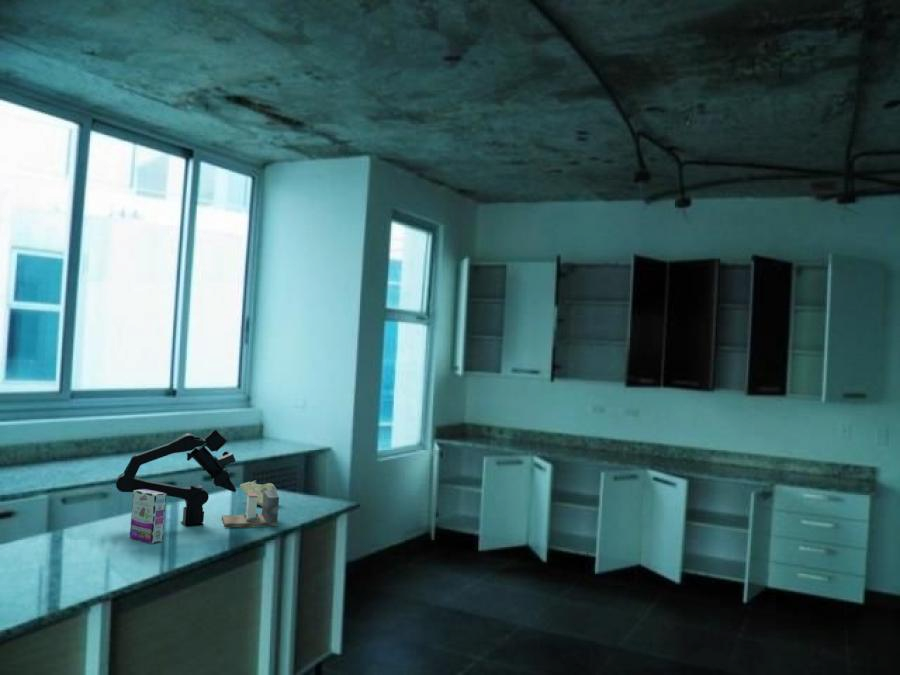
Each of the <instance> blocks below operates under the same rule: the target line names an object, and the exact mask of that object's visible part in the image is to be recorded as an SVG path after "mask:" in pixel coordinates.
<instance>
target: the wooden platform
mask: <svg viewBox="0 0 900 675" xmlns="http://www.w3.org/2000/svg"><path fill="white" fill-rule="evenodd" d="M279 502H280V496H279V495H278V494H276V493H275V491H274V490H264V491H263V504H262V506H261V514H259V513H258V512H256V518H246V512H244V514H229V515H227V514H224V515H221V521H223V522H222V525H223V524H224V525H223V527H240V528H259V527H258V526H277V527H278V516H279ZM253 526H254V527H253Z"/></svg>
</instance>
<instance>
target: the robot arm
mask: <svg viewBox="0 0 900 675" xmlns="http://www.w3.org/2000/svg"><path fill="white" fill-rule="evenodd" d="M227 443H229V441H228V440H227V439H226V438H225V437H224V436H223V435H222V433H220V432H219V431H217V429H216V428H214V429H212V431H211V432H210V433H209V434H208V435H207V436H206V437H198V436H195V435H194V434H192V433H190V432H188V433H184V434H182V435H180V436H179V437H177V438H175V439H173V440H172V441H171V442H168V443H165V444H163V445H160V446H156V447H154V448H152V449H149V450H146V451H143V452H140V453H136V454H134V455H132V456H131V458H130V461H129V462H128V463H127V466H126V468H125V469H124V471H123V473H121V474H119V475H118V476H117V477H116V483H115V487H116V489H117V490H118V491H119V492H121V493H133V491H134V490H139V489H148V490H153V491H158V492H162V493H167V494H166V497H171V498H179V499H183V500H184V503H185V506H184V507H183V509H182V510H183V511H182V521H180V524H182V525H183V526H185V527H196V526H203V525H204V518H205V511H204V507H203V506H204V505H205V504H206V503H207V502H208V501H209V493H208V491H207V490H208V489H206V488H205V487H204V486H202V484H201V483H200V484H196V483H192V482H190V483H189V485H188V486H180V485H175V484H170V483H164V482H158V481H151V480H147V479H143V478H142V477H139V476H137V473H138V471H139V470H140V467H141V466H142V465H144V464H147V463H151V462H154V461H156V460H158V459H161V458H163V457H164V458H165V457H167V456H169V455H172V454H179V453H186V461H190V460H191V459H193V460H194V462H196V463H197V464H198V466H200V467H201V469H202V470H203V472H204V471H205V473H207V475H209V477H210V478H211V479H212V482H213V484H214V485H215V487H219V488H222V489H225V490H227V491H230V492H233V493H236V492H237V488H236V487H235V485H234V482H232V480H231V478H230V477H231V474H230V472H229V470H228V468H227V465H228V466H229V465H230V464H234V463H236V462H237V460H236V458H235V455H234V453H233V452H231V451H230V452H228V451H227V450H225V451H223V452H222V455H221V456H220V457H218V458H217V456H215V455H213V454H212V452H213V453H214V452H219V450H221V448H223V447H224V446H225V445H226V444H227ZM207 448H208V449H207Z"/></svg>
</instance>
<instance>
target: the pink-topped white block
mask: <svg viewBox="0 0 900 675" xmlns="http://www.w3.org/2000/svg"><path fill="white" fill-rule="evenodd" d="M257 507H258V504H257V494H256V493H247V494H246V508H245V511H246V512H245V513H246V518H256V513H257Z"/></svg>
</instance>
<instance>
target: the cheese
mask: <svg viewBox="0 0 900 675" xmlns="http://www.w3.org/2000/svg"><path fill="white" fill-rule="evenodd" d="M239 487H240V489H241V491H242V492H244V494H246V495H247V493H256V494H257V506H259V505H260V506H259V507H262V504H263V491H264V490H274V491H275V493H276V494H277V493H278V490H277V488H276V486H275V485H274V484H273V483H271V482H268V483H264V484H259V483H257V480H253V481H248V482H243V483H241V484H240V485H239ZM277 495H278V494H277Z"/></svg>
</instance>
